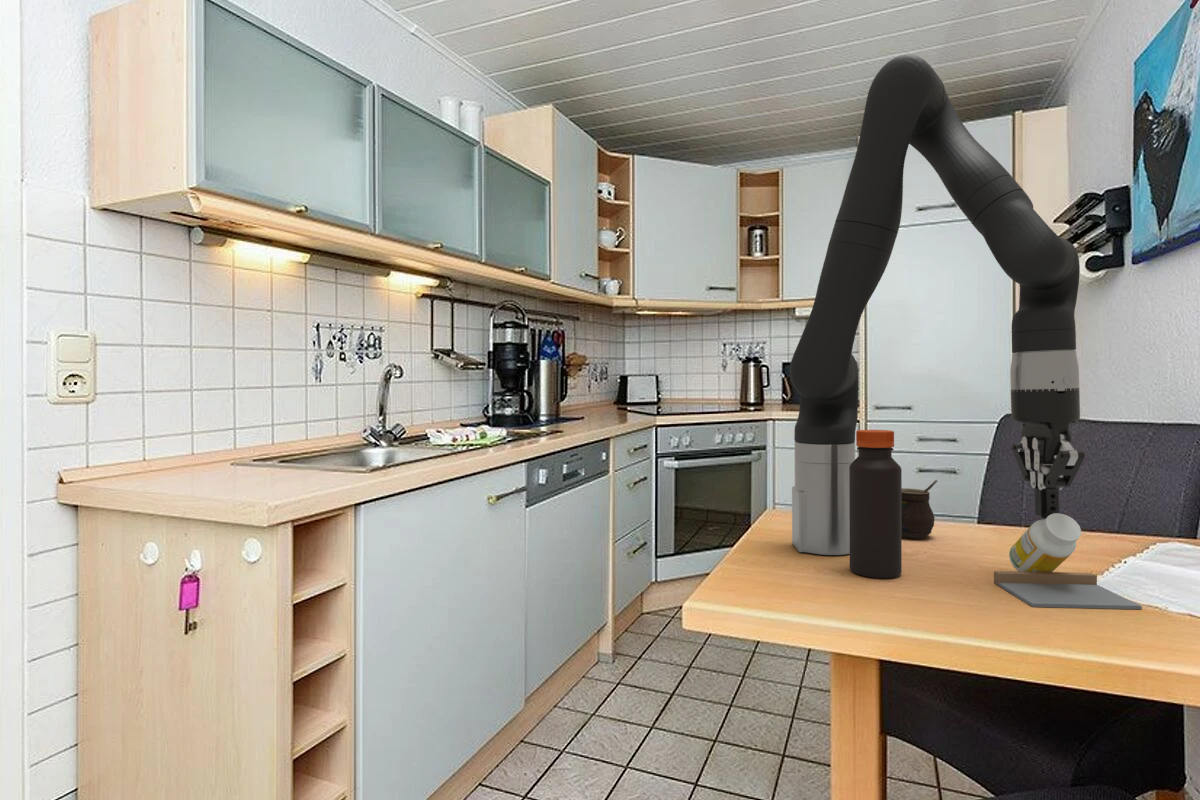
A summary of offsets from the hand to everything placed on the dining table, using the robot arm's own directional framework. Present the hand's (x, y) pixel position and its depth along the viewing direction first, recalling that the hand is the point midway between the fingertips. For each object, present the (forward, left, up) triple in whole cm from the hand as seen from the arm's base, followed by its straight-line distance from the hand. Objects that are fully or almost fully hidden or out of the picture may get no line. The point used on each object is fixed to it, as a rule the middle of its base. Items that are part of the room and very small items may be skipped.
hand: (1047, 517), depth 87 cm
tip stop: (-1, -5, -9) cm, 10 cm away
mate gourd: (-8, +27, -9) cm, 29 cm away
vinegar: (-21, +4, -9) cm, 23 cm away
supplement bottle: (-1, +3, -7) cm, 8 cm away
